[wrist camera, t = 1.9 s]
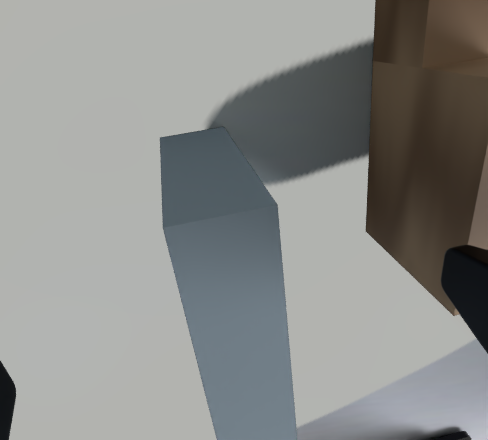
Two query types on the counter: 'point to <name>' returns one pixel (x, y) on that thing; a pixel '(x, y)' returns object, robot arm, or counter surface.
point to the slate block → (229, 283)
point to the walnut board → (429, 133)
